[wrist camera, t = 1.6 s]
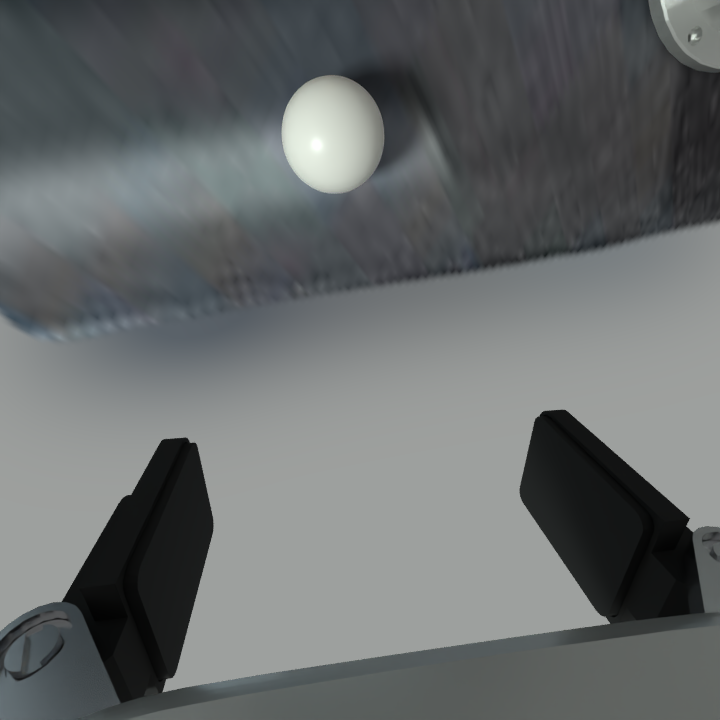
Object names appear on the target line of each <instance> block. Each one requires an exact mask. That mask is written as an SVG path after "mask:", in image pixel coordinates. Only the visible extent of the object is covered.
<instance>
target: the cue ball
mask: <svg viewBox="0 0 720 720" xmlns="http://www.w3.org/2000/svg"><path fill="white" fill-rule="evenodd" d="M384 138H385V136H384V125H383V120H382V116H381V113H380V111H379V108H378V106H377V104H376V103H375V101H374V99H373V98H372V97H371V95H370V94H369V93H368V92H367V91H366V90H365V89H364V88H363V87H362V86H361V85H359V84H358V83H356V82H355V81H353V80H351V79H348V78H346V77H342V76H337V75H326V76H321V77H317V78H314V79H312V80H310V81H308V82H307V83H305V84H304V85H303V86H301V87H300V88H299V89H298V90H297V91H296V92H295V94H294V95H293V96H292V98H291V99H290V101H289V103H288V105H287V107H286V110H285V113H284V117H283V122H282V143H283V148H284V152H285V155H286V158H287V160H288V162H289V164H290V166H291V168H292V169H293V171H294V172H295V173H296V175H297V176H298V177H299V178H300V179H301V180H302V181H303V182H304V183H306V184H307V185H309V186H310V187H312V188H314V189H316V190H318V191H321V192H325V193H332V194H338V193H345V192H348V191H351V190H354V189H355V188H357V187H359V186H361V185H362V184H363V183H365V182H366V181H367V180H368V179H369V178H370V177H371V175H372V174H373V173H374V171H375V170H376V168H377V166H378V164H379V162H380V159H381V156H382V153H383V148H384Z"/></svg>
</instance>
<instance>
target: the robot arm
mask: <svg viewBox="0 0 720 720" xmlns="http://www.w3.org/2000/svg"><path fill="white" fill-rule="evenodd" d="M648 2H649V8H650V13H651V18H652V20H653V23H654V26H655V28H656V31H657V34H658V36H659V38H660V39H661V41H662V42H663V44H664V45H665V47H666V48H667V50H668V52H669V53H671V54H672V55H673V56H674V57H675V58H676V59H677V60H678V61H679V62H681V63H682V64H684V65H686V66H688V67H690V68H692V69H695V70H697V71H704V72H710V73H717V72H720V0H648ZM520 497H521V499H522V501H523V503H524V505H525V506H526V508H527V509H528V511H529V512H530V514H531V515H532V517H533V518H534V519H535V521H536V522H537V524H538V525H539V527H540V528H541V530H542V531H543V533H544V534H545V535H546V537H547V539H548V540H549V542H550V543H551V544H552V546H553V547H554V549H555V550H556V552H557V553H558V555H559V556H560V558H561V559H562V561H563V562H564V564H565V565H566V567H567V568H568V570H569V571H570V573H571V574H572V575H573V577H574V578H575V580H576V581H577V583H578V584H579V586H580V587H581V589H582V590H583V592H584V593H585V595H586V596H587V598H588V599H589V601H590V602H591V604H592V605H593V606H594V608H595V609H596V611H597V612H598V613H599V614H600V615H602V616H606V618H607V619H608V621H609V622H610V624H607V625H600V626H593V627H585V628H578V629H571V630H563V631H557V632H549V633H543V634H534V635H527V636H520V637H514V638H506V639H499V640H492V641H486V642H478V643H471V644H465V645H457V646H451V647H444V648H437V649H431V650H423V651H416V652H409V653H403V654H396V655H389V656H382V657H375V658H369V659H362V660H355V661H349V662H342V663H336V664H329V665H323V666H316V667H310V668H303V669H296V670H289V671H282V672H276V673H270V674H263V675H257V676H252V677H245V678H239V679H234V680H228V681H222V682H216V683H210V684H204V685H198V686H192V687H186V688H182V689H177V690H172V691H168V692H163V693H162V691H163V688H164V685H165V681H166V679H168V678H173V676H174V675H175V673H176V670H177V666H178V663H179V659H180V655H181V651H182V647H183V644H184V640H185V636H186V633H187V628H188V625H189V621H190V617H191V614H192V610H193V606H194V602H195V598H196V595H197V591H198V587H199V583H200V579H201V576H202V572H203V568H204V564H205V560H206V557H207V553H208V549H209V545H210V542H211V538H212V534H213V516H212V511H211V507H210V502H209V498H208V493H207V488H206V484H205V479H204V475H203V470H202V465H201V461H200V456H199V452H198V447H197V444H196V443H190V442H189V440H188V438H175V439H164V440H162V441H161V443H160V444H159V446H158V448H157V450H156V451H155V453H154V455H153V457H152V459H151V460H150V462H149V464H148V466H147V468H146V469H145V471H144V473H143V475H142V477H141V478H140V480H139V482H138V484H137V486H136V487H135V489H134V491H133V493H132V495H127V496H125V497H124V498H123V499H122V500H121V501H120V503H119V504H118V506H117V508H116V509H115V511H114V513H113V515H112V516H111V518H110V520H109V521H108V523H107V525H106V527H105V528H104V530H103V532H102V533H101V535H100V537H99V539H98V540H97V542H96V544H95V545H94V547H93V549H92V551H91V552H90V554H89V556H88V558H87V559H86V561H85V563H84V565H83V566H82V568H81V570H80V571H79V573H78V575H77V576H76V578H75V580H74V582H73V583H72V585H71V587H70V589H69V590H68V592H67V594H66V596H65V597H64V599H63V601H62V602H53V603H50V604H47V605H43V606H39V607H37V608H35V609H33V610H31V611H29V612H27V613H25V614H23V615H21V616H20V617H18V618H17V619H16V620H14V621H13V622H11V623H10V624H8V625H7V626H6V627H5V628H4V629H3V630H1V631H0V720H720V528H719V527H709V526H706V527H701V528H698V529H697V530H696V531H694V532H692V531H691V530H690V529H689V528H687V527H686V525H687V523H688V521H689V519H690V518H688V517H687V516H686V515H685V514H684V513H683V512H682V511H680V510H679V509H678V508H677V507H676V506H675V505H674V504H672V503H671V502H670V501H669V500H668V499H667V498H666V497H664V496H663V495H662V494H661V493H660V492H659V491H658V490H656V489H655V488H654V487H653V486H652V485H651V484H650V483H649V482H647V481H646V480H645V479H644V478H643V477H642V476H641V475H639V474H638V473H637V472H636V471H635V470H634V469H633V468H631V467H630V466H629V465H628V464H627V463H626V462H625V461H623V460H622V459H621V458H620V457H619V456H618V455H617V454H615V453H614V452H613V451H612V450H611V449H610V448H609V447H607V446H606V445H605V444H604V443H603V442H601V440H599V439H598V438H597V437H596V436H595V435H594V434H593V433H591V432H590V431H589V430H588V429H587V428H586V427H585V426H583V425H582V424H581V423H580V422H579V421H577V419H575V418H574V417H573V416H572V415H571V414H570V413H569V412H567V411H566V410H552V411H544V412H542V413H541V414H540V417H537V418H536V419H535V422H534V427H533V431H532V436H531V440H530V445H529V449H528V454H527V459H526V463H525V467H524V472H523V476H522V481H521V485H520Z"/></svg>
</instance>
